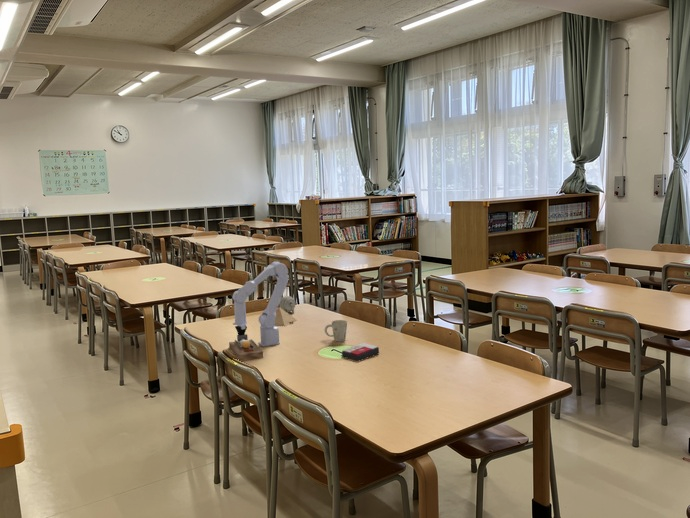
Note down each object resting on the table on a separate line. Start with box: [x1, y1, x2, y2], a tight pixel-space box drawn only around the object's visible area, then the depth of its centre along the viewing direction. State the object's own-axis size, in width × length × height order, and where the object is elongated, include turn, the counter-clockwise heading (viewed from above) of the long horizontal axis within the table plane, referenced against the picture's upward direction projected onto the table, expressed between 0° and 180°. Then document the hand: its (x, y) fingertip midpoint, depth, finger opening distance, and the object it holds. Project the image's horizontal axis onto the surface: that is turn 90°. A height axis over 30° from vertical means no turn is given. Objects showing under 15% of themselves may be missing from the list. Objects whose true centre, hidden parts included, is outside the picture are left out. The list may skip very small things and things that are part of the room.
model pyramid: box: [274, 306, 298, 328], centre depth 333 cm, size 17×17×10 cm
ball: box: [243, 341, 250, 348], centre depth 270 cm, size 4×4×4 cm
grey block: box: [236, 333, 251, 347], centre depth 276 cm, size 5×8×4 cm, turn 22°
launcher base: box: [228, 339, 264, 362], centre depth 273 cm, size 12×24×4 cm, turn 22°
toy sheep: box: [278, 295, 297, 314], centre depth 358 cm, size 11×17×11 cm, turn 34°
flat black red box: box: [341, 342, 380, 362], centre depth 264 cm, size 11×4×15 cm
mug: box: [324, 319, 348, 342], centre depth 291 cm, size 8×13×10 cm, turn 78°
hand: (241, 339), depth 281 cm, fingers closed
